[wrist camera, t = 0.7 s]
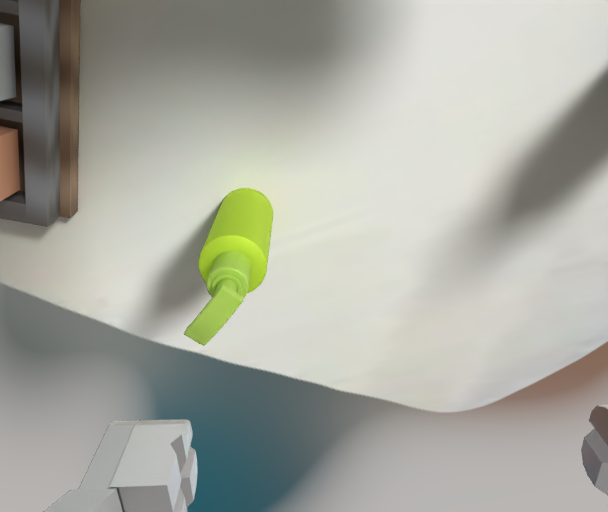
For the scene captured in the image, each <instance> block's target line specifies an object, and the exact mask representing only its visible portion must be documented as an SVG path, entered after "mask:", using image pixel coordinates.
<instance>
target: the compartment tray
mask: <svg viewBox="0 0 608 512" xmlns="http://www.w3.org/2000/svg"><path fill="white" fill-rule="evenodd" d="M0 23H3V24H7V25H12V26H14V50H15V75H16V97H14V98H10V99H6V100H2V101H0V126H2V127H7V128H13V129H18V150H19V175H20V190H19V191H17V192H15V193H14V194H12V195H10V196H9V197H7V198H5V199H4V200H2V201H0V218H2V219H8V220H13V221H19V222H24V223H30V224H35V225H41V226H46V227H47V226H48V225H50V224H51V223H52V222H53V221H55V220H56V219H57V218H58V217H60V216H63V217H68V218H70V217H71V216H73V215H74V214H75V213H76V212H77V211H78V132H79V53H80V0H0Z"/></svg>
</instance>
